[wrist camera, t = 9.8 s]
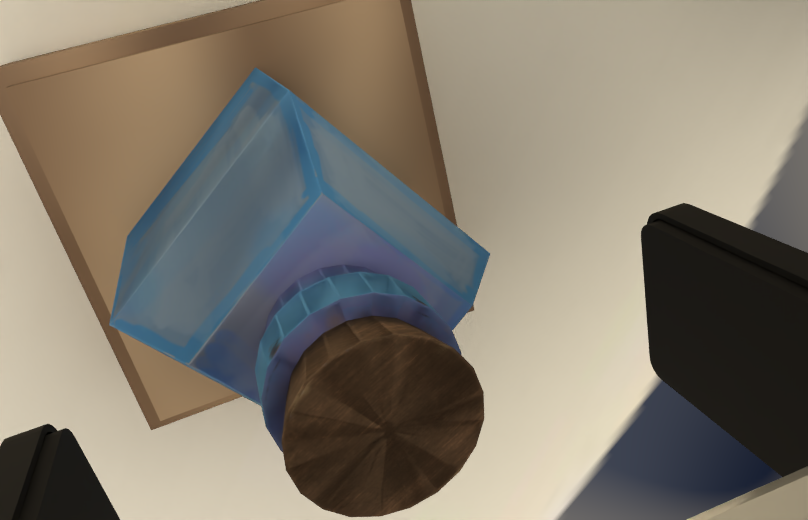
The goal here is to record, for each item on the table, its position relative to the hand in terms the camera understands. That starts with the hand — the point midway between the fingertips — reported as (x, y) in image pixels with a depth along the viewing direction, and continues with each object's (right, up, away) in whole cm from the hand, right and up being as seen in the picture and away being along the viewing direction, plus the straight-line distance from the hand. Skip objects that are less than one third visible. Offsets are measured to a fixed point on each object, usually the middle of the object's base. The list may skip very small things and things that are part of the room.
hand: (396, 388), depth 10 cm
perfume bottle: (-4, +4, +10) cm, 12 cm away
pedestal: (-5, +5, +14) cm, 15 cm away
